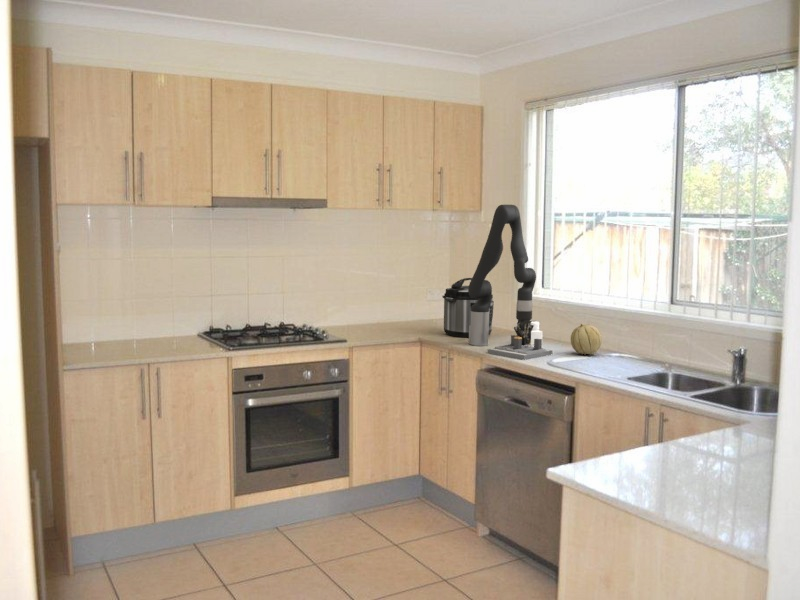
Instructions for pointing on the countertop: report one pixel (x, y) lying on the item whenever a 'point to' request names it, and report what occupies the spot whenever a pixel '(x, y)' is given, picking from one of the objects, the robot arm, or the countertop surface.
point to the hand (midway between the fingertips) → (523, 345)
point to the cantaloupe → (586, 339)
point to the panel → (518, 352)
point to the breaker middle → (517, 343)
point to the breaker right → (537, 344)
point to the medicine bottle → (534, 333)
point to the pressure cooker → (460, 310)
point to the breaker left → (512, 339)
